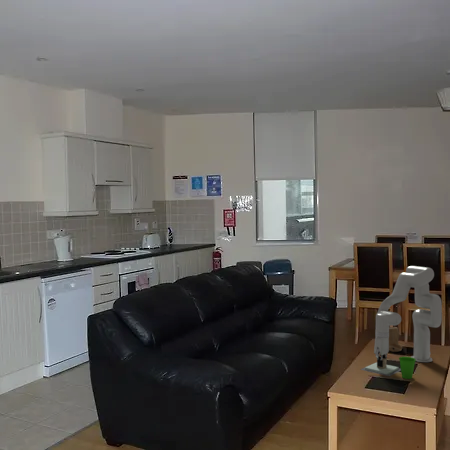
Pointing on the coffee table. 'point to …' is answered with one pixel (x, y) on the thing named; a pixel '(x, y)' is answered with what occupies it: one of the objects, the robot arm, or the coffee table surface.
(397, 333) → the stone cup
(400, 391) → the coffee table surface
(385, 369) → the lid
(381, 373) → the mat
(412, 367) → the cup
